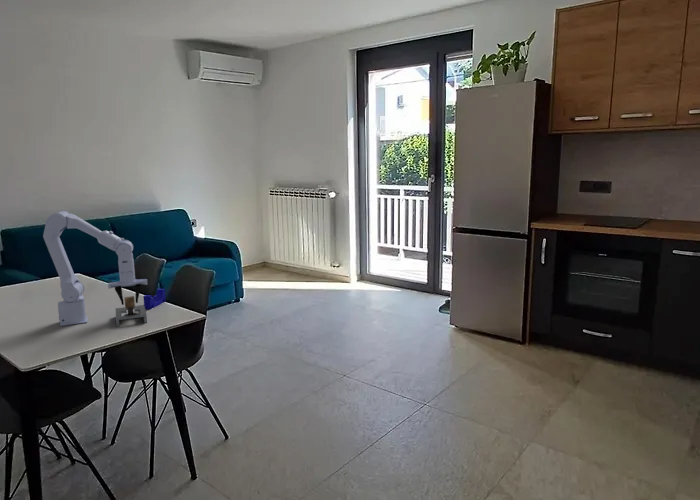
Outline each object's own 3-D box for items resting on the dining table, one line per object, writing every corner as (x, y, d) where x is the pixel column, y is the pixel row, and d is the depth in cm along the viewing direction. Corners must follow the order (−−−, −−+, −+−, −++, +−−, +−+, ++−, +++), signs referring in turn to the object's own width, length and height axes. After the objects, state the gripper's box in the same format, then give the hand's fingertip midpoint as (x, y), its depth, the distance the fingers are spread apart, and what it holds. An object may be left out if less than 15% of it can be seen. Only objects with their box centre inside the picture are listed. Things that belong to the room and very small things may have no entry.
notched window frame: (116, 326, 196) (115, 318, 195) (116, 316, 209) (115, 308, 208) (147, 322, 201) (146, 314, 200) (144, 312, 213) (144, 304, 212)
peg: (124, 319, 204) (122, 300, 203) (124, 316, 209) (122, 296, 207) (137, 317, 206) (136, 298, 205) (137, 314, 211) (135, 295, 209)
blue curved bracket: (156, 301, 230) (155, 288, 229) (165, 301, 229) (164, 289, 228) (141, 309, 218) (140, 295, 217) (150, 309, 218) (149, 296, 216)
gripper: (106, 274, 197) (110, 308, 200) (146, 271, 203) (149, 303, 206) (106, 271, 204) (110, 303, 206) (145, 267, 210) (148, 299, 212)
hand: (129, 303), depth 207 cm, fingers open, 5 cm apart
